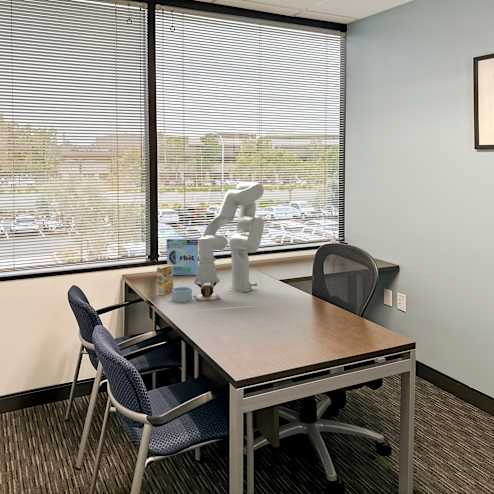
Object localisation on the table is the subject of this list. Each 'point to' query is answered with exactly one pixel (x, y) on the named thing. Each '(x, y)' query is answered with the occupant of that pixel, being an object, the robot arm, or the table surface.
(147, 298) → the table surface
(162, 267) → the candy box
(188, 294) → the ceramic bowl
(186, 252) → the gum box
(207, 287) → the brass cover
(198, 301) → the rubber mat
